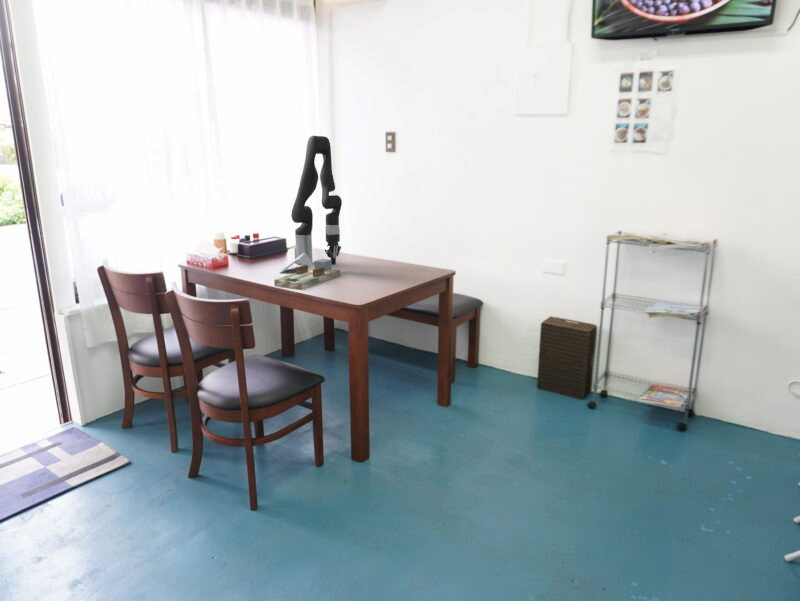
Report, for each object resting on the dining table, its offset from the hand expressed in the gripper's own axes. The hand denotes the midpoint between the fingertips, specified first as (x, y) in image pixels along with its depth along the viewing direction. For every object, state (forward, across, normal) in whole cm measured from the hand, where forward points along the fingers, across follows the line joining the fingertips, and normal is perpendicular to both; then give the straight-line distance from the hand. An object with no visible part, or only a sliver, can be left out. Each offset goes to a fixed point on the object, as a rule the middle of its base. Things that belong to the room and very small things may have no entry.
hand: (333, 264), depth 310 cm
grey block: (+1, +10, 0) cm, 10 cm away
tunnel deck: (+4, +22, 0) cm, 23 cm away
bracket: (+5, +5, -21) cm, 22 cm away
